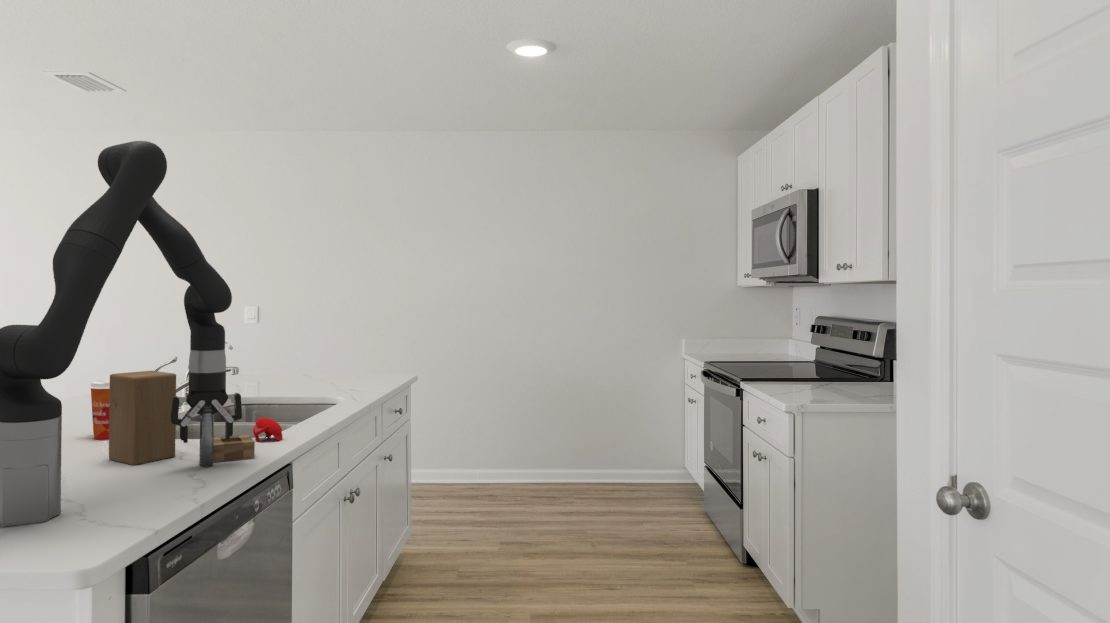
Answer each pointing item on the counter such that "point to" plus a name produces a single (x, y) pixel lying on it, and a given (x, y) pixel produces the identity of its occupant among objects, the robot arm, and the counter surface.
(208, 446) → the grey metal cylinder
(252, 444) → the checkered wooden holder
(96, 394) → the coffee cup
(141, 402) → the wooden block
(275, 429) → the cap
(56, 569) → the counter surface
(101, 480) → the counter surface
